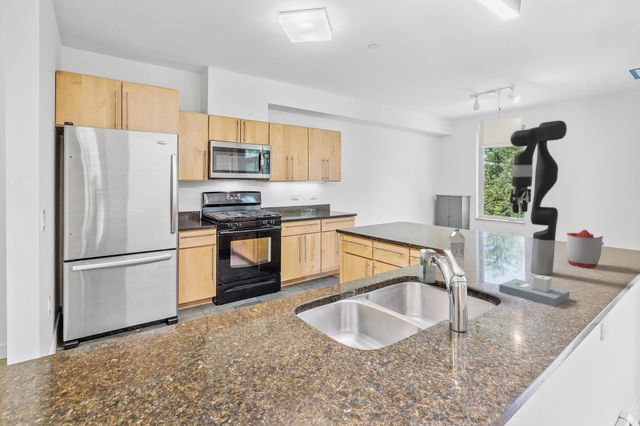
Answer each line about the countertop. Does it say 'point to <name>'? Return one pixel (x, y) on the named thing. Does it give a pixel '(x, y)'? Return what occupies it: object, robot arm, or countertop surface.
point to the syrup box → (426, 266)
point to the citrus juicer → (583, 249)
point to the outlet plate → (534, 292)
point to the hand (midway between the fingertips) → (519, 212)
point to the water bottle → (457, 247)
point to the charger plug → (542, 284)
